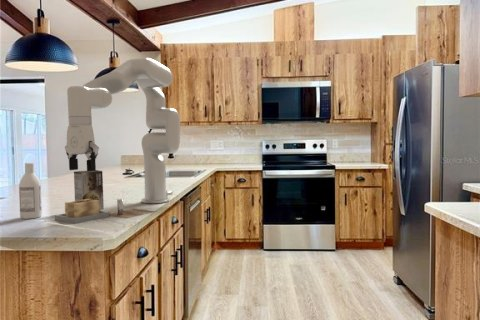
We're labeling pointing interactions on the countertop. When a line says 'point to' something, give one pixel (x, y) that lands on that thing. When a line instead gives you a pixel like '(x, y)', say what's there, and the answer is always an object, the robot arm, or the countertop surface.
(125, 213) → the board
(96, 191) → the coffee box
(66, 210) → the wooden block
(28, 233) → the countertop surface
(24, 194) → the bath foam
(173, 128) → the robot arm
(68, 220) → the tray
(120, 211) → the stake
